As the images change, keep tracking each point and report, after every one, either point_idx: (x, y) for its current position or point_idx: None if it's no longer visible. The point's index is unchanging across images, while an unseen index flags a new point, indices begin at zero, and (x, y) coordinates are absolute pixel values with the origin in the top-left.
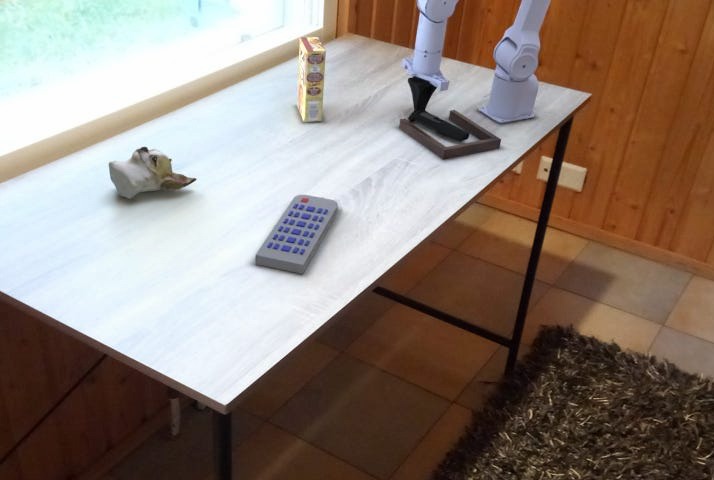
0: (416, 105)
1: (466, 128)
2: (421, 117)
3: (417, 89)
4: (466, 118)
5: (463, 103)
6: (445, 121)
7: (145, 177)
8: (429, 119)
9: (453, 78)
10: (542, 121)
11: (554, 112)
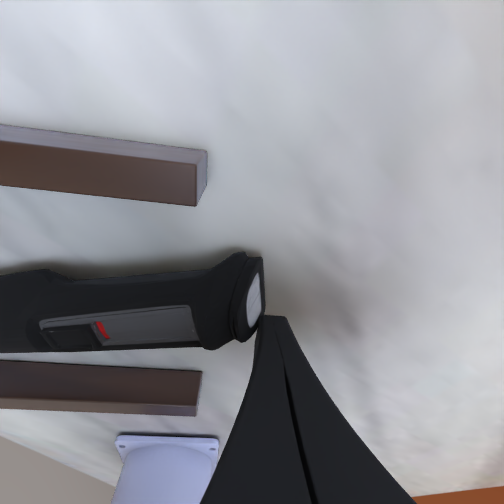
0: (262, 344)
1: (87, 373)
2: (155, 292)
3: (240, 494)
4: (103, 409)
5: None
6: (15, 346)
7: None
8: (97, 306)
9: (399, 469)
10: (113, 474)
11: None
